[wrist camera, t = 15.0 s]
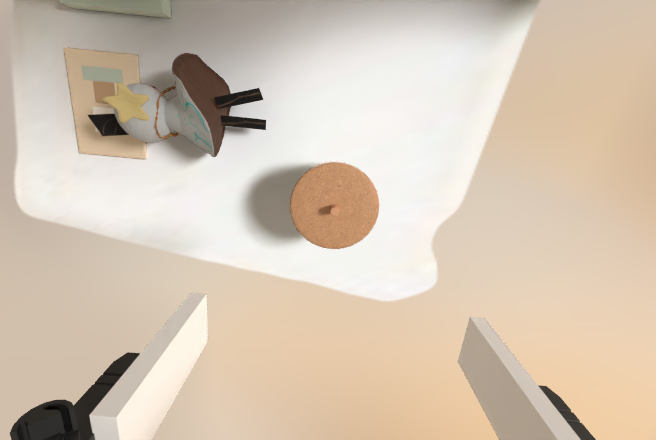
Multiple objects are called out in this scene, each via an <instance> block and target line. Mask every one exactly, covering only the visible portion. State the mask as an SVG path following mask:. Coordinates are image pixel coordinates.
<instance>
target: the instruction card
mask: <svg viewBox="0 0 656 440" xmlns="http://www.w3.org/2000/svg"><path fill="white" fill-rule="evenodd" d="M64 53H65V60H66V66H67V73H68V79H69V86H70V93H71V99H72V106H73V113H74V119H75V126H76V132H77V139H78V146H79V152H80V153H85V154H96V155H107V156H117V157H128V158H138V159H147V155H146V143H145V142H143V141H140V140H137V139H136V138H134V137H132V136H131V135H118V136H102V135H101V133H100V132H99V131H98V129H97V128H96V127H95V125H94V124H93V122H92V121H91V120H90V118H89V117H88V115H95V114H115V113H114V107H113V106H111V105H110V104H109V103H107V102H104V101H103V100H102V98H103V97H107V96H113V95H117V83H118V82H120V83H123V84H124V85H125V86H127V85H129V84H135V83H140V73H139V61H138V55H134V54H124V53H114V52H104V51H94V50H84V49H73V48H64Z"/></svg>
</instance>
